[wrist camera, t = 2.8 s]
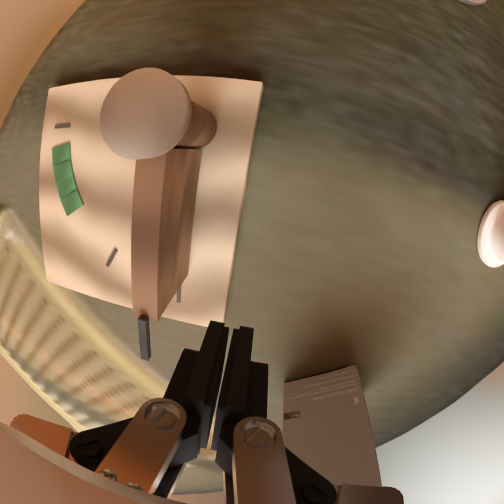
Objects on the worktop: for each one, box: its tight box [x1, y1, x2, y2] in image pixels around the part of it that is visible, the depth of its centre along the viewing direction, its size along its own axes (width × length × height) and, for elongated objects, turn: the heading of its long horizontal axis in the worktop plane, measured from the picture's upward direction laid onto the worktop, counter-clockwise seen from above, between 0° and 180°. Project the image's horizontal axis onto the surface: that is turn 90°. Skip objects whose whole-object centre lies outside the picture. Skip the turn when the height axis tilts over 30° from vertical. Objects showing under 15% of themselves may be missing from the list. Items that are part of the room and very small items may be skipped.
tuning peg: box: [100, 68, 217, 361], centre depth 16 cm, size 16×4×9 cm, turn 170°
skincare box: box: [283, 365, 382, 487], centre depth 20 cm, size 8×7×16 cm
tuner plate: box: [39, 75, 263, 327], centre depth 21 cm, size 20×20×2 cm
